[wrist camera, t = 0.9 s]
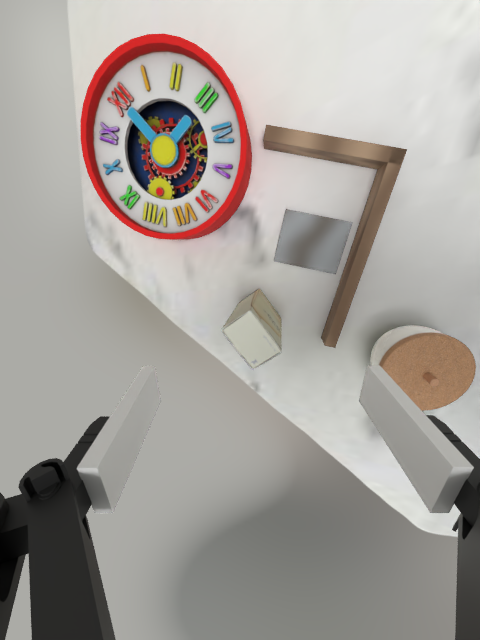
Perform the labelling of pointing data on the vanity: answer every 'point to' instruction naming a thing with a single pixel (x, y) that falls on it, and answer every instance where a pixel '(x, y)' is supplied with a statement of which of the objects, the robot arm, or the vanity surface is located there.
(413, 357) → the lidded jar
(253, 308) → the skincare box
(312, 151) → the walnut l-shaped corner bracket
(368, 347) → the vanity surface
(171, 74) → the toy clock
